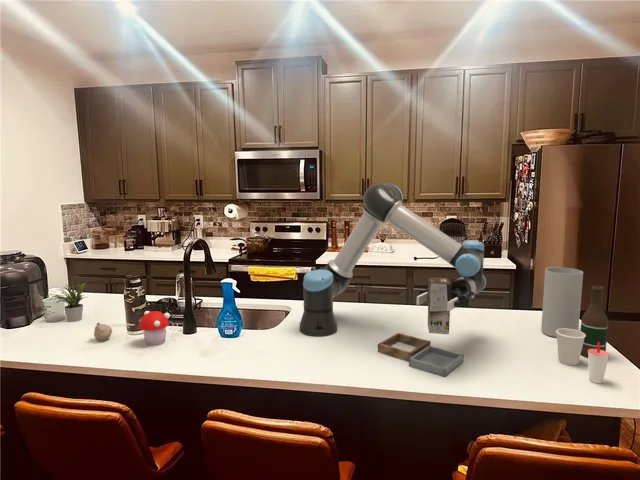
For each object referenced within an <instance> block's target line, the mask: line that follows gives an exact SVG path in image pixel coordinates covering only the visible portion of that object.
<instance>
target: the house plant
mask: <svg viewBox="0 0 640 480" xmlns="http://www.w3.org/2000/svg"><path fill="white" fill-rule="evenodd" d="M85 284H87V282H84V283H82V284H78V285H77V287H76V288H75V285H74V284H72V286H70V285H69V284H66V286H67V287H66V286H62V287H63V288H64V289H65V290H66V291H65V290H63V289H59V288H57V291H58V292H60V293H61V294H63V295H65V296H62V295H61V296H60V295H51V297H52V298H54V299H55V300H56V299H58V300H57V301H56V303H55V304H57V303H59V302H63V303H65V304H67V305H65V306H64V311H65V314H66V318H67V321H68V322H69V323H74V322H80V321H81V320H82V319H83V308H84V304H82V303H80V301H82V300H83V299H84V298H87V299H89V297H88V296H85V295H84V294H82V293H83V291H84V289H86V288H87V287H84V286H85ZM83 288H84V289H83ZM67 292H68V293H67ZM83 296H84V297H83Z"/></svg>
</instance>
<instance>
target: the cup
mask: <svg viewBox="0 0 640 480" xmlns="http://www.w3.org/2000/svg"><path fill="white" fill-rule="evenodd" d="M609 356H610V353H609V352H608V351H607V350H606V351H603V350H600V342H598V343H597V349H588V358H587V359H588V361H587V362H588V380H589V381H590V382H592V383H595V384H597V385H598V384H603V383H604V377H605V373H606V370H607V365H608V361H609Z"/></svg>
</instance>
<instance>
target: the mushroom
mask: <svg viewBox="0 0 640 480" xmlns="http://www.w3.org/2000/svg"><path fill="white" fill-rule="evenodd" d="M170 314H171V313H169V312H165V313H163V312H161V311H157V310H156V311H155V310H154V311H153V310H152V311H149V310H146V311H144V313H143V316H142V317H141V318H140V319H139V320H138V330H140V331H144V333H143V336H144V339H145V340H144V341H145V345H147V346H150V347H154V346H160V345H162V344H163V345H164V343H166V336H167V330H166V328H167V327H169V326H170V322H169V318H170V317H171V315H170Z"/></svg>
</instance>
